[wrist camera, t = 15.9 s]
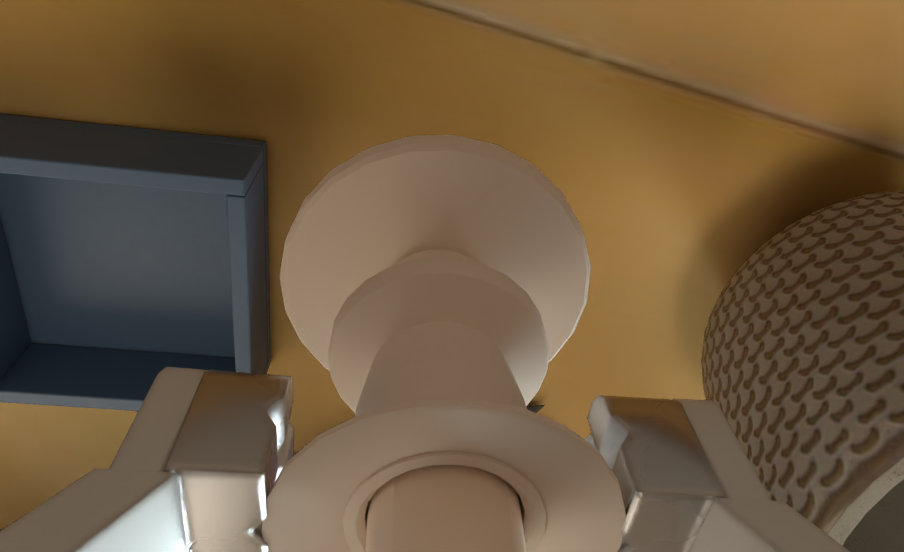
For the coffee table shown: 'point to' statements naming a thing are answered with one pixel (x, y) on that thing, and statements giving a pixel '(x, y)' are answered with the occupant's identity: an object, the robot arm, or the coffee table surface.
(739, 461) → the robot arm
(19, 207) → the blue bin
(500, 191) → the candle
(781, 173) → the coffee table surface
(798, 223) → the planter
